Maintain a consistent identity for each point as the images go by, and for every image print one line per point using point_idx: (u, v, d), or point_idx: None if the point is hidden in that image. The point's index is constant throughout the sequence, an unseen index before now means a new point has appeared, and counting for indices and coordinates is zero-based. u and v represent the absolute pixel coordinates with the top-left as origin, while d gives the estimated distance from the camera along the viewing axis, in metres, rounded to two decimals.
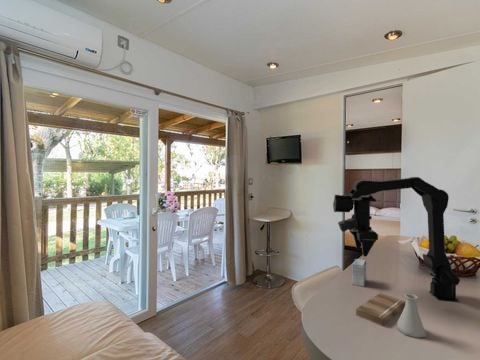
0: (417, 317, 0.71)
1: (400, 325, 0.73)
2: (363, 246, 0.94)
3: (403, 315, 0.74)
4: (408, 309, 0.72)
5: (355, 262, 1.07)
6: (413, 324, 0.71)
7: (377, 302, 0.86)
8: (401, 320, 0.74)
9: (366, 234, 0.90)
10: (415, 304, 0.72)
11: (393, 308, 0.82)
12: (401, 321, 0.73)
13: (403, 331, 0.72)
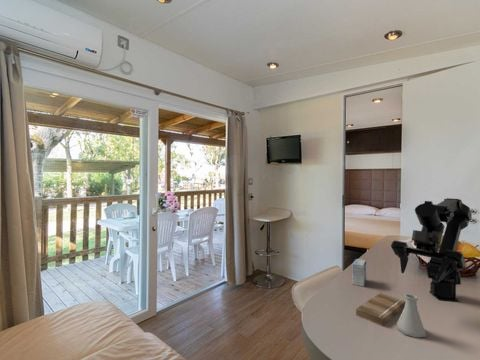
0: (417, 317, 0.71)
1: (400, 325, 0.73)
2: (444, 269, 0.75)
3: (403, 315, 0.74)
4: (408, 309, 0.72)
5: (355, 262, 1.07)
6: (413, 324, 0.71)
7: (377, 302, 0.86)
8: (401, 320, 0.74)
9: (463, 257, 0.75)
10: (415, 304, 0.72)
11: (393, 308, 0.82)
12: (401, 321, 0.74)
13: (403, 331, 0.72)
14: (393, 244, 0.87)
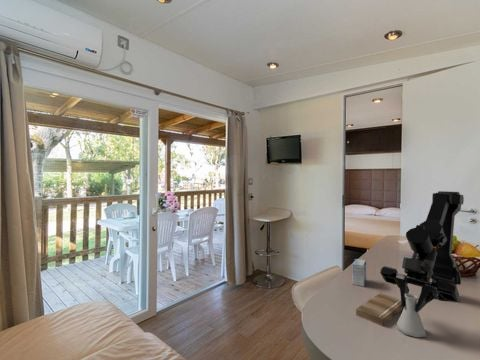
0: (417, 317, 0.71)
1: (400, 325, 0.73)
2: (424, 298, 0.71)
3: (403, 315, 0.74)
4: (408, 309, 0.72)
5: (355, 262, 1.07)
6: (413, 324, 0.71)
7: (377, 302, 0.86)
8: (401, 320, 0.74)
9: (457, 290, 0.69)
10: (415, 304, 0.72)
11: (393, 308, 0.82)
12: (401, 321, 0.74)
13: (403, 331, 0.72)
14: (382, 270, 0.81)
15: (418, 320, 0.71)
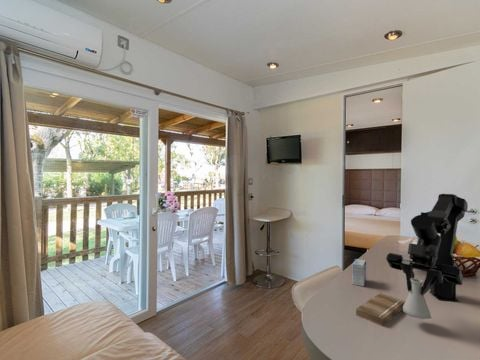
0: (422, 300, 0.74)
1: (406, 308, 0.76)
2: (429, 282, 0.74)
3: (409, 298, 0.76)
4: (414, 292, 0.75)
5: (355, 262, 1.07)
6: (418, 307, 0.74)
7: (377, 302, 0.86)
8: (407, 303, 0.77)
9: (461, 273, 0.72)
10: (421, 288, 0.75)
11: (393, 308, 0.82)
12: (407, 304, 0.76)
13: (409, 313, 0.75)
14: (388, 257, 0.84)
15: (423, 303, 0.74)
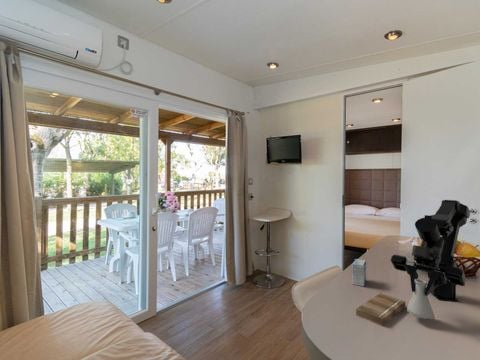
0: (426, 300, 0.77)
1: (410, 308, 0.79)
2: (433, 283, 0.77)
3: (413, 299, 0.79)
4: (418, 293, 0.78)
5: (355, 262, 1.07)
6: (422, 307, 0.76)
7: (377, 302, 0.86)
8: (411, 303, 0.79)
9: (463, 274, 0.74)
10: (425, 288, 0.77)
11: (393, 308, 0.82)
12: (411, 304, 0.79)
13: (413, 313, 0.77)
14: (393, 258, 0.86)
15: (427, 303, 0.76)
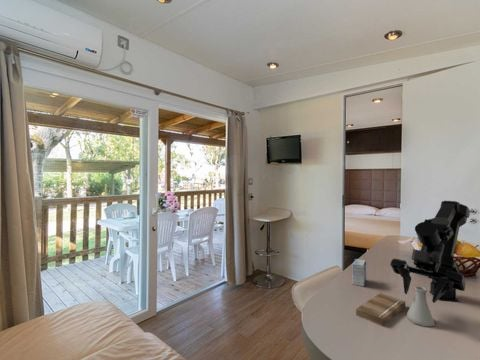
0: (426, 308, 0.77)
1: (410, 315, 0.79)
2: (441, 289, 0.75)
3: (413, 306, 0.79)
4: (418, 300, 0.78)
5: (355, 262, 1.07)
6: (422, 314, 0.76)
7: (377, 302, 0.86)
8: (411, 310, 0.79)
9: (463, 279, 0.74)
10: (424, 296, 0.77)
11: (393, 308, 0.82)
12: (411, 311, 0.79)
13: (413, 320, 0.77)
14: (392, 262, 0.86)
15: (427, 310, 0.77)
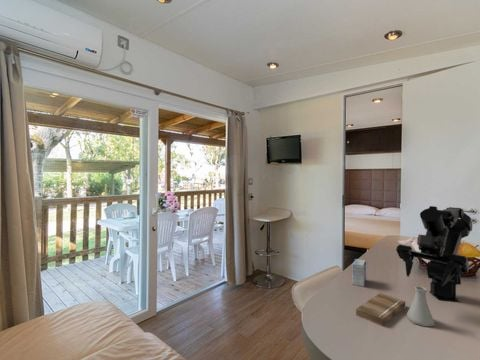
0: (426, 308, 0.77)
1: (410, 315, 0.79)
2: (449, 273, 0.77)
3: (413, 306, 0.79)
4: (418, 300, 0.78)
5: (355, 262, 1.07)
6: (422, 314, 0.76)
7: (377, 302, 0.86)
8: (411, 310, 0.79)
9: (467, 262, 0.77)
10: (424, 296, 0.77)
11: (393, 308, 0.82)
12: (411, 311, 0.79)
13: (413, 321, 0.77)
14: (398, 248, 0.89)
15: (427, 310, 0.77)
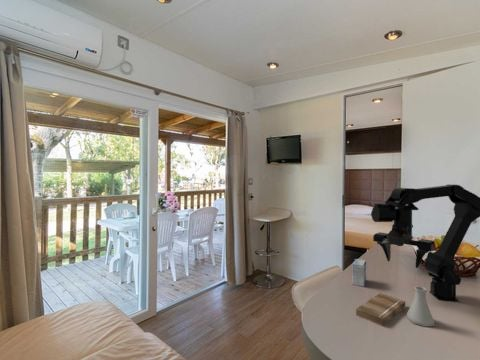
0: (426, 308, 0.77)
1: (410, 315, 0.79)
2: (420, 258, 0.89)
3: (413, 306, 0.79)
4: (418, 300, 0.78)
5: (355, 262, 1.07)
6: (422, 314, 0.76)
7: (377, 302, 0.86)
8: (411, 311, 0.79)
9: (432, 245, 0.86)
10: (424, 296, 0.77)
11: (393, 308, 0.82)
12: (411, 311, 0.79)
13: (413, 321, 0.77)
14: (374, 240, 0.99)
15: (427, 310, 0.77)
